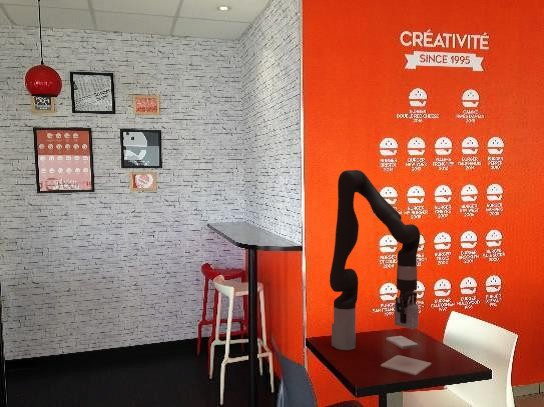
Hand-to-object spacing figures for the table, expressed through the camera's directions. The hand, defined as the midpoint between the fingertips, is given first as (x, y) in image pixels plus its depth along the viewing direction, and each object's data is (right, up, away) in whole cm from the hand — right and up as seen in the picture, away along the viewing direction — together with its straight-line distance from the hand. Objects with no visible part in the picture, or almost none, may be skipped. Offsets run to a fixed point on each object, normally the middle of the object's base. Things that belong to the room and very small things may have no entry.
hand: (406, 321), depth 190 cm
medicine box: (0, -2, 0) cm, 2 cm away
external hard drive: (+5, -16, +27) cm, 32 cm away
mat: (0, -17, +1) cm, 17 cm away
